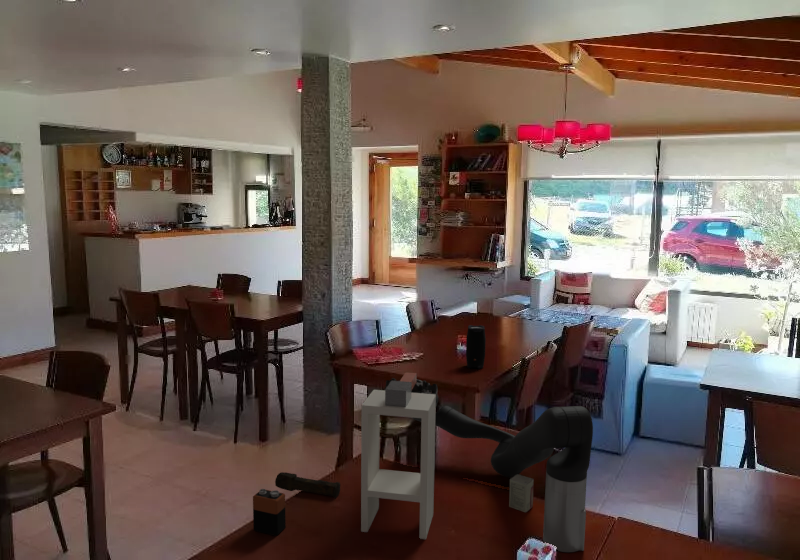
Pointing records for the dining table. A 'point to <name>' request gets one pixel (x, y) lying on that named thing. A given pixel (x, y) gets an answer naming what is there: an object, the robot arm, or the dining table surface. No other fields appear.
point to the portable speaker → (475, 346)
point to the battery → (269, 512)
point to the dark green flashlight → (307, 484)
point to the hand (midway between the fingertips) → (408, 383)
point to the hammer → (400, 390)
